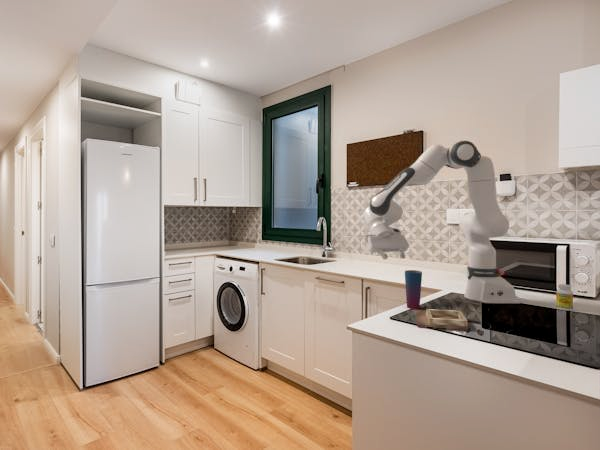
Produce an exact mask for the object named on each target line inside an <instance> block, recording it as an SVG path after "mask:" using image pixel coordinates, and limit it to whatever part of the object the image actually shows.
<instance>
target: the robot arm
mask: <svg viewBox="0 0 600 450" xmlns="http://www.w3.org/2000/svg"><path fill="white" fill-rule="evenodd" d="M444 167H449V168H451V169H455V170H458V169H462V168H463V169H464V170H465V173H466V175H467V179H466V180H467V183H466V184H467V199H468V201H469V203H470V204H471V205H472V206H473V208H474V209H473V210H474V211H473V212H469V213H465V214H463V215H462V216H461V217H460V218H459V220H458V227H459V229H460V231H461V232H462V234H463V235H464V239H465V242H466V245H467V253H468V259H467V260H468V266H467V267H466V268H467V269H466V279H467V284H466V289H465V292H464V296H463V297H464V298H465V299H468V300H471V301H476V302H480V303H484V304H521V303H523V302H522V301H523V300H522V298H520V297H519V296H518V295H516V290H515V288H514V286H513V284H511V283H510V282H509V281H507V280H506V279H505V278H503V277H502V276H503V275H504V274H505V271H504V270H502V269H499V268H498V267H497V250H496V248H495V247H494V246H493V245H492V243H491V241H490V238H491V239H492V238H493V239H494V238H499V237H502V236H504V235H506V234H507V233H508V231H509V229H510V222H509V221H510V220H509V219H508V218H507V216H505V214H503V212H502V210H501V208H500V206H499V203H498V199H497V191H496V189H497V188H496V173H495V172H496V171H495V168H494V163H493V161H492V159H491V158H490V157H488V156H485V155H482V154H481V152H480V151H479V150H478V148H477V146H476V144H474V143H473V142H471V141H469V140H460V141H458V142H456V143H455V144H453V145H451V146H450V147H444V146H443V145H442V144H436V143H435V144H432V145H430V146H428V148H427V149H426V150H424V152H423V153H421V155H420V156H419V157H418V158H417V159H416V160H415V162H413V163H412V164H411V165H410V166H408V167H406V168H404V169H402V171H400V172H399V173H398V174H397V175H396V176H395V177H394V178H393V179H392V180H391V181H389V182H388V184H387V185H386V186H385V187H384V188H383V189H381V190H380V191H378V192H377V193H375V194H374V195H373V197H371V199H370V201H369V206H368V207H367V208H366V209H365V210H364V212H363V218H364V221H365V224H366V226H367V228H368V229H369V230H370V233H371V234H366V235H365V236H364V240H365V242H366V246H367V248H368V251H369V252H370V253H374V254H375V253H377V254H378V255H379V256H380V257H382V259H383V260H387V259H389V257H388V254H387V253H391V252H392V253H393V252H394V253H395V252H396V253H397V252H399V253H400V254H399V257H400V259H405V258H406V254H405V252H406V251H408V249H409V248H410V244H409V241H408V240H407V238H406V236H405V235H403V234H402V230H400V228H399V229H398V228H395V227H392V225H393V224H395V223H396V222H398V221H400V220H401V218H402V216H403V207H402V206H401V205H400V204H398V202H396V201H394V198H395V197H396V195H398V194H399V192H401V191H402V190H403V189H404V188H405V187H407V186H409V185H412V184H413V185H420V186H422V185H427V184H428V183H430V182H431V181H433V179H434V178H435V176H437V174H438V173H439V172H440V171H441V170H442V169H443V168H444Z"/></svg>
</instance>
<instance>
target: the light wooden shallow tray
mask: <svg viewBox="0 0 600 450" xmlns="http://www.w3.org/2000/svg"><path fill="white" fill-rule="evenodd" d="M413 311H414V312H413V313H414V317H415V321H416V326H417V328H426V329H428V328H427V327H433V328H432V329H437V328H448V329H447V330H451V329H457V330H456V331H466V332H467V331H469V327H468V325H469V324H468V320H467V318H466V317H465V315H464V314H463V312H462V311H461V310H454V309H453V310H452V309H433V308H426V309H413Z"/></svg>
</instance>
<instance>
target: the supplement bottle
mask: <svg viewBox="0 0 600 450" xmlns="http://www.w3.org/2000/svg"><path fill="white" fill-rule="evenodd" d="M555 294H556V299H555V301H556V303H555V305H556V308H557V309H558V310H562V311H572V310H573V309H574V291H572V285H570V284H565V283H564V284H562V283H561V284H560V283H559V284H558V289H557V290H556V292H555Z"/></svg>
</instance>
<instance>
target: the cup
mask: <svg viewBox="0 0 600 450" xmlns="http://www.w3.org/2000/svg"><path fill="white" fill-rule="evenodd" d="M422 276H423V272H422V271H421V270H416V269H415V270H411V269H408V270H405V271H404V278H405V279H404V281H405V298H406V308H408V309H409V310H410V309H411V310H420V305H421V294H422V293H421V292H422Z"/></svg>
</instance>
